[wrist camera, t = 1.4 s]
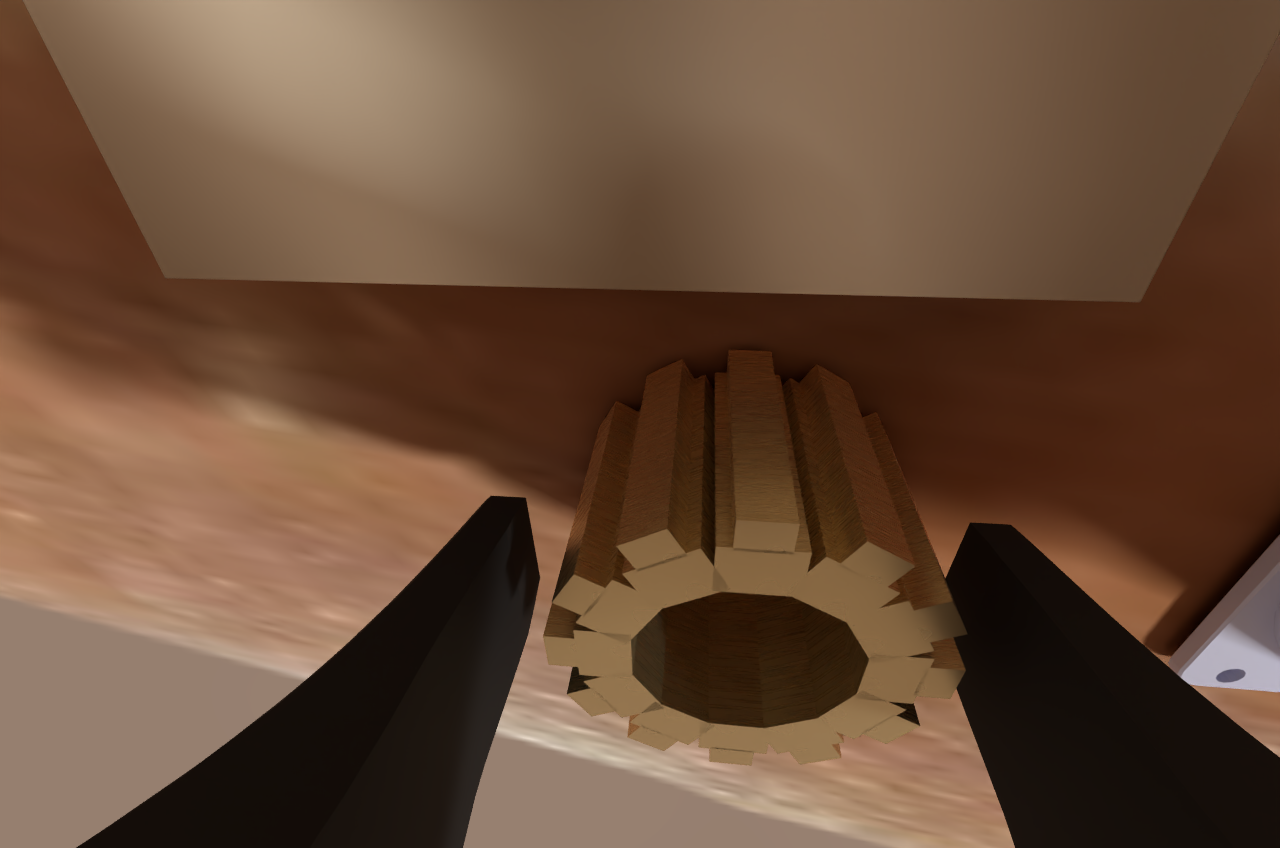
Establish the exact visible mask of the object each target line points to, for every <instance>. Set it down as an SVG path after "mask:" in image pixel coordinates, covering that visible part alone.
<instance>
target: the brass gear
mask: <svg viewBox="0 0 1280 848" xmlns="http://www.w3.org/2000/svg"><path fill="white" fill-rule="evenodd" d="M966 634H967V631H966V629H965V626H964V624H963V622H962V619H961V617H960V614H959V612H958V609H957V607H956V604H955V602H954V599H953V597H952V594H951V592H950V589H949V587H948V584H947V582H946V579H945V577H944V575H943V572H942V570H941V567H940V565H939V562H938V560H937V557H936V555H935V552H934V550H933V547H932V545H931V542H930V540H929V537H928V535H927V532H926V530H925V528H924V525H923V523H922V520H921V518H920V515H919V513H918V510H917V508H916V505H915V503H914V500H913V498H912V495H911V493H910V490H909V488H908V485H907V483H906V481H905V478H904V476H903V473H902V471H901V468H900V466H899V463H898V461H897V458H896V456H895V453H894V451H893V448H892V446H891V443H890V441H889V439H888V436H887V434H886V432H885V430H884V427H883V425H882V423H881V421H880V418H879V416H878V414H877V412H875V413H872V414H869V415H867V416H864V417H862V416H861V413H860V410H859V408H858V405H857V402H856V399H855V396H854V394H853V391H852V388H851V385H850V383H849V382H847V381H845V380H844V379H842V378H840V377H839V376H837V375H835V374H833V373H832V372H830V371H828V370H827V369H825V368H823V367H821V366H820V365H818V364H816V365H815V366H814V367H813V368H812V369H811V370H810V372H809V373H808V374H807V375H806V376H805V377H804V378H803V379H802V381H801V382H800V383H798V382H797V381H795V380H793V379H791V378H789V379H788V380H787V382H786V383H785V384H784V385H783V386H782V384H781V378H780V375H775V372H774V366H773V360H772V354H771V351H753V350H729V351H728V363H727V373H717V372H715V380H714V389H713V387H712V386H711V384H710V382H709V381H708V379H707V377H706V376H705V375H702V376H700V377H698V378H696V379H694V377H693V376H692V374H691V372H690V371H689V369H688V368H687V366H686V364H685V363H684V361H683V359H681V360H679V361H677V362H674V363H672V364H670V365H668V366H666V367H664V368H661V369H659V370H657V371H655V372H653V373H651V374H648V375H647V378H646V384H645V389H644V395H643V401H642V406H641V408H640V410H639V411H638V412H637V411H635V410H633V409H631V408H629V407H628V406H626V405H624V404H622V403H620V402H618V401H616V402H615V404H614V405H613V407H612V408H611V410H610V411H609V413H608V414H607V416H606V417H605V419H604V420H603V422H602V424H601V425H600V427H599V430H598V434H597V437H596V441H595V445H594V448H593V452H592V456H591V459H590V463H589V467H588V471H587V474H586V478H585V482H584V485H583V489H582V493H581V496H580V500H579V504H578V507H577V511H576V515H575V519H574V522H573V526H572V530H571V533H570V537H569V541H568V544H567V548H566V552H565V555H564V559H563V563H562V566H561V570H560V574H559V578H558V581H557V585H556V589H555V592H554V596H553V600H552V605H551V609H550V613H549V616H548V620H547V624H546V627H545V631H544V635H543V638H544V644H545V649H546V654H547V659H548V665H559V666H571V667H573V668H572V672H571V677H570V682H569V686H568V691H567V695H568V696H570V697H571V698H572V699H573V700H574V701H575V702H576V703H577V704H578V705H580V706H581V707H582V708H583V709H584V710H585V711H586V712H587V713H588V714H590V715H591V716H596V715H600V714H605V713H609V712H614V711H615V712H616V713H617V714H618V715H620V716H621V717H627V716H630V720H629V729H628V738H631V739H633V740H636V741H639V742H641V743H644V744H646V745H649V746H652V747H654V748H657V749H660V750H662V751H665V750H666V749H667V748H669V747H670V746H671V745H673V744H674V743H676V742H677V741H679V742H682V743H684V744H687V745H689V744H690V743H692V742H693V741H694V740H696V739H697V738H699V747H700V748H709V762H719V763H730V764H740V765H750V766H751V764H752V759H753V754H754V753H762V754H766V753H767V748H768V744H770V746H771V747H772V748H773V749H774V750H775V751H776V753H777V754H778V753H784V752H790V753H791V755H792V756H793V757H794V758H795V759H796V761H797V762H798V763H799V764H806V763H812V762H819V761H825V760H831V759H838V758H841V752H840V746H839V743H844V740H843V735H845V736H847V737H850V738H852V739H855V738H857V737H859V736H861V735H862V734H864V735H866V736H868V737H871V738H873V739H875V740H878V741H880V742H883V743H885V744H887V743H889V742H891V741H893V740H895V739H896V738H898V737H900V736H902V735H904V734H906V733H908V732H910V731H912V730H914V729H915V728H917V727H919V726H920V724H919V720H918V717H917V713H916V710H915V706H914V701H915V698H916V696H920V697H932V698H943V699H951V697H952V695H953V693H954V691H955V689H956V688H957V686H958V684H959V682H960V680H961V678H962V677H963V675H964V673H965V671H966V670H965V667H964V665H963V662H962V659H961V657H960V654H959V651H958V649H957V646H956V644H955V641H954V638H953V637H957V636H962V635H966ZM842 734H843V735H842Z"/></svg>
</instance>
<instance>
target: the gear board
mask: <svg viewBox="0 0 1280 848" xmlns="http://www.w3.org/2000/svg"><path fill="white" fill-rule="evenodd" d="M23 2H24V4H25V6H26V8H27V10H28V12H29V14H30V16H31V18H32V20H33V22H34V24H35V26H36V28H37V29H38V31H39V33H40V35H41V37H42V39H43V41H44V43H45V45H46V47H47V49H48V51H49V53H50V55H51V57H52V59H53V61H54V63H55V65H56V66H57V68H58V70H59V72H60V74H61V76H62V78H63V80H64V82H65V84H66V86H67V88H68V90H69V92H70V94H71V96H72V98H73V100H74V102H75V103H76V105H77V107H78V109H79V111H80V113H81V115H82V117H83V119H84V121H85V123H86V125H87V127H88V129H89V131H90V133H91V135H92V137H93V139H94V140H95V142H96V144H97V146H98V148H99V150H100V152H101V154H102V156H103V158H104V160H105V162H106V164H107V166H108V168H109V170H110V172H111V174H112V176H113V177H114V179H115V181H116V183H117V185H118V187H119V189H120V191H121V193H122V195H123V197H124V199H125V201H126V203H127V205H128V207H129V209H130V211H131V213H132V214H133V216H134V218H135V220H136V222H137V224H138V226H139V228H140V230H141V232H142V234H143V236H144V238H145V240H146V242H147V244H148V246H149V248H150V250H151V251H152V253H153V255H154V257H155V259H156V261H157V263H158V265H159V267H160V269H161V271H162V273H163V275H164V277H165V278H178V279H219V280H259V281H300V282H340V283H381V284H421V285H462V286H502V287H543V288H583V289H624V290H664V291H705V292H745V293H785V294H826V295H866V296H907V297H947V298H988V299H1028V300H1069V301H1109V302H1140V301H1141V299H1142V298H1143V296H1144V294H1145V292H1146V290H1147V288H1148V286H1149V284H1150V282H1151V280H1152V278H1153V276H1154V274H1155V272H1156V271H1157V269H1158V267H1159V265H1160V263H1161V261H1162V259H1163V257H1164V255H1165V253H1166V251H1167V249H1168V247H1169V245H1170V243H1171V242H1172V240H1173V238H1174V236H1175V234H1176V232H1177V230H1178V228H1179V226H1180V224H1181V222H1182V220H1183V218H1184V216H1185V215H1186V213H1187V211H1188V209H1189V207H1190V205H1191V203H1192V201H1193V199H1194V197H1195V195H1196V193H1197V191H1198V189H1199V187H1200V186H1201V184H1202V182H1203V180H1204V178H1205V176H1206V174H1207V172H1208V170H1209V168H1210V166H1211V164H1212V162H1213V160H1214V159H1215V157H1216V155H1217V153H1218V151H1219V149H1220V147H1221V145H1222V143H1223V141H1224V139H1225V137H1226V135H1227V133H1228V132H1229V130H1230V128H1231V126H1232V124H1233V122H1234V120H1235V118H1236V116H1237V114H1238V112H1239V110H1240V108H1241V106H1242V104H1243V103H1244V101H1245V99H1246V97H1247V95H1248V93H1249V91H1250V89H1251V87H1252V85H1253V83H1254V81H1255V79H1256V77H1257V76H1258V74H1259V72H1260V70H1261V68H1262V66H1263V64H1264V62H1265V60H1266V58H1267V56H1268V54H1269V52H1270V50H1271V49H1272V47H1273V45H1274V43H1275V41H1276V39H1277V37H1278V35H1279V33H1280V0H23Z"/></svg>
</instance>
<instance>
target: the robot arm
mask: <svg viewBox="0 0 1280 848" xmlns="http://www.w3.org/2000/svg"><path fill="white" fill-rule="evenodd" d="M539 580H540V575H539V569H538V563H537V558H536V552H535V546H534V541H533V535H532V529H531V524H530V518H529V513H528V507H527V501H526V498H521V497H503V496H490V497H489V498H488V499H487V500H486V501H485V502H484V503H483V504H482V505H481V506H480V507H479V508H478V510H477V511H476V512H475V513H474V514H473V515H472V516H471V517H470V518H469V520H468V521H467V522H466V523H465V524H464V525H463V526H462V527H461V529H460V530H459V531H458V532H457V533H456V534H455V535H454V536H453V537H452V538H451V540H450V541H449V542H448V543H447V544H446V545H445V546H444V547H443V548H442V549H441V550H440V552H439V553H438V554H437V555H436V556H435V557H434V558H433V559H432V560H431V561H430V562H429V563H428V564H427V565H426V566H425V567H424V568H423V570H422V571H421V572H420V573H419V574H418V575H417V576H416V577H415V578H414V579H413V580H412V581H411V582H410V583H409V584H408V585H407V586H406V587H405V588H404V589H403V590H402V591H401V592H400V593H399V594H398V595H397V596H396V597H395V598H394V599H393V600H392V601H391V602H390V603H389V604H388V605H387V606H386V607H385V608H384V609H383V610H382V611H381V612H380V613H379V614H378V615H377V616H376V617H375V618H374V619H373V620H372V621H370V622H369V623H368V624H367V625H366V626H365V627H364V628H363V629H362V630H361V631H360V632H359V633H358V634H357V635H356V636H355V637H354V638H353V639H352V640H351V641H350V642H348V643H347V644H346V645H345V646H344V647H343V648H342V649H341V650H340V651H338V652H337V653H336V654H335V655H334V656H333V657H332V658H331V659H330V660H328V661H327V662H326V663H325V664H324V665H323V666H322V667H320V668H319V669H318V670H317V671H316V672H315V673H313V674H312V675H311V676H310V677H309V678H308V679H306V680H305V681H304V682H303V683H302V684H300V685H299V686H298V687H297V688H296V689H295V690H293V691H292V692H291V693H290V694H288V695H287V696H286V697H285V698H284V699H282V700H281V701H280V702H279V703H277V704H276V705H275V706H274V707H272V708H271V709H270V710H269V711H267V712H266V713H265V714H263V715H262V716H261V717H260V718H258V719H257V720H256V721H254V722H253V723H252V724H251V725H250V726H248V727H247V728H245V729H244V730H243V731H242V732H240V733H239V734H238V735H236V736H235V737H234V738H233V739H231V740H230V741H229V742H227V743H226V744H225V745H224V746H222V747H221V748H220V749H218V750H217V751H215V752H214V753H213V754H211V755H210V756H209V757H207V758H206V759H205V760H203V761H202V762H201V763H199V764H198V765H196V766H195V767H194V768H192V769H191V770H189V771H188V772H187V773H185V774H184V775H182V776H181V777H179V778H178V779H176V780H175V781H174V782H172V783H171V784H169V785H168V786H166V787H165V788H164V789H162V790H161V791H159V792H158V793H156V794H155V795H153V796H152V797H150V798H149V799H147V800H146V801H145V802H143V803H142V804H140V805H139V806H137V807H136V808H134V809H133V810H132V811H130V812H129V813H127V814H126V815H125V816H123V817H122V818H120V819H119V820H117V821H116V822H114V823H113V824H111V825H110V826H108V827H107V828H105V829H104V830H102V831H101V832H99V833H98V834H96V835H95V836H93V837H92V838H90V839H89V840H87V841H86V842H84V843H83V844H81V845H80V846H78V847H77V848H463V845H464V841H465V837H466V833H467V828H468V824H469V820H470V816H471V812H472V808H473V803H474V800H475V796H476V792H477V789H478V785H479V782H480V778H481V775H482V772H483V768H484V765H485V762H486V759H487V756H488V753H489V750H490V747H491V744H492V741H493V738H494V735H495V732H496V729H497V726H498V723H499V720H500V717H501V714H502V712H503V709H504V706H505V703H506V700H507V697H508V694H509V691H510V688H511V685H512V682H513V679H514V676H515V673H516V670H517V667H518V664H519V661H520V658H521V655H522V652H523V649H524V646H525V642H526V639H527V636H528V633H529V628H530V624H531V619H532V615H533V610H534V605H535V600H536V595H537V590H538V585H539ZM946 582H947V584H948V587H949V589H950V592H951V594H952V597H953V599H954V602H955V604H956V607H957V609H958V612H959V614H960V617H961V619H962V622H963V624H964V626H965V629H966V631H967V634H966V635H962V636H957V637H953V638H954V641H955V644H956V646H957V649H958V651H959V654H960V657H961V659H962V662H963V665H964V667H965V670H966V671H965V673H964V675H963V677H962V678H961V680H960V682H959V684H958V686H957V691H958V694H959V696H960V699H961V702H962V705H963V707H964V710H965V713H966V715H967V718H968V721H969V723H970V726H971V729H972V731H973V734H974V737H975V739H976V742H977V744H978V747H979V750H980V752H981V755H982V758H983V760H984V763H985V766H986V768H987V771H988V773H989V776H990V779H991V781H992V784H993V787H994V789H995V792H996V795H997V797H998V800H999V803H1000V805H1001V808H1002V810H1003V813H1004V816H1005V819H1006V822H1007V825H1008V828H1009V831H1010V834H1011V837H1012V839H1013V842H1014V845H1015V848H1280V757H1278V756H1277V755H1276V754H1274V753H1273V752H1272V751H1271V750H1269V749H1268V748H1267V747H1266V746H1264V745H1263V744H1262V743H1260V742H1259V741H1258V740H1257V739H1255V738H1254V737H1253V736H1252V735H1250V734H1249V733H1248V732H1246V731H1245V730H1244V729H1243V728H1241V727H1240V726H1239V725H1238V724H1236V723H1235V722H1234V721H1233V720H1232V719H1230V718H1229V717H1228V716H1227V715H1226V714H1224V713H1223V712H1222V711H1221V710H1219V709H1218V708H1217V707H1216V706H1215V705H1213V704H1212V703H1211V702H1210V701H1209V700H1207V699H1206V698H1205V697H1204V696H1202V695H1201V694H1200V693H1199V692H1198V691H1196V690H1195V689H1194V688H1193V687H1192V686H1190V685H1189V684H1191V685H1198V686H1210V687H1223V688H1235V689H1248V690H1260V691H1272V692H1280V535H1279V536H1278V537H1277V538H1276V539H1275V540H1274V541H1273V542H1272V544H1271V545H1270V546H1269V547H1268V548H1267V549H1266V550H1265V551H1264V553H1263V554H1262V555H1261V556H1260V557H1259V558H1258V559H1257V560H1256V562H1255V563H1254V564H1253V565H1252V566H1251V567H1250V568H1249V569H1248V571H1247V572H1246V573H1245V574H1244V575H1243V576H1242V577H1241V578H1240V580H1239V581H1238V582H1237V583H1236V584H1235V585H1234V586H1233V587H1232V589H1231V590H1230V591H1229V592H1228V593H1227V594H1226V595H1225V596H1224V598H1223V599H1222V600H1221V601H1220V602H1219V603H1218V604H1217V606H1216V607H1215V608H1214V609H1213V610H1212V611H1211V612H1210V613H1209V615H1208V616H1207V617H1206V618H1205V619H1204V620H1203V621H1202V622H1201V624H1200V625H1199V626H1198V627H1197V628H1196V629H1195V630H1194V631H1193V633H1192V634H1191V635H1190V636H1189V637H1188V638H1187V639H1186V640H1185V642H1184V643H1183V644H1182V645H1181V646H1180V647H1179V648H1178V649H1177V651H1176V652H1175V653H1174V654H1173V655H1172V656H1171V658H1170V660H1169V662H1168V663H1169V666H1170V668H1171V669H1172V670H1171V669H1170V668H1169V667H1168V666H1167V665H1166V664H1165V663H1163V662H1162V661H1161V660H1160V659H1159V658H1158V657H1156V656H1155V655H1154V654H1153V653H1152V652H1151V651H1150V650H1148V649H1147V648H1146V647H1145V646H1144V645H1143V644H1142V643H1140V642H1139V641H1138V640H1137V639H1136V638H1135V637H1134V636H1133V635H1131V634H1130V633H1129V632H1128V631H1127V630H1126V629H1125V628H1124V627H1122V626H1121V625H1120V624H1119V623H1118V622H1117V621H1116V620H1115V619H1114V618H1112V617H1111V616H1110V615H1109V614H1108V613H1107V612H1106V611H1105V610H1104V609H1103V608H1101V607H1100V606H1099V605H1098V604H1097V603H1096V602H1095V601H1094V600H1093V599H1092V598H1091V597H1089V596H1088V595H1087V594H1086V593H1085V592H1084V591H1083V590H1082V589H1081V588H1080V587H1079V586H1078V585H1076V584H1075V583H1074V582H1073V581H1072V580H1071V579H1070V578H1069V577H1068V576H1067V575H1066V574H1065V573H1063V572H1062V571H1061V570H1060V569H1059V568H1058V567H1057V566H1056V565H1055V564H1054V563H1053V562H1052V561H1051V560H1049V559H1048V558H1047V557H1046V556H1045V555H1044V554H1043V553H1042V552H1041V551H1040V550H1039V549H1037V548H1036V547H1035V546H1034V545H1033V544H1032V543H1031V542H1030V541H1029V540H1028V539H1026V538H1025V537H1024V536H1023V535H1022V534H1021V533H1020V532H1018V531H1017V530H1016V529H1015V528H1014V527H1013V526H1012V525H1005V524H987V523H970V524H969V526H968V529H967V531H966V533H965V535H964V538H963V540H962V542H961V544H960V547H959V549H958V551H957V554H956V556H955V558H954V560H953V563H952V565H951V567H950V569H949V572H948V574H947V576H946Z"/></svg>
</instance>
